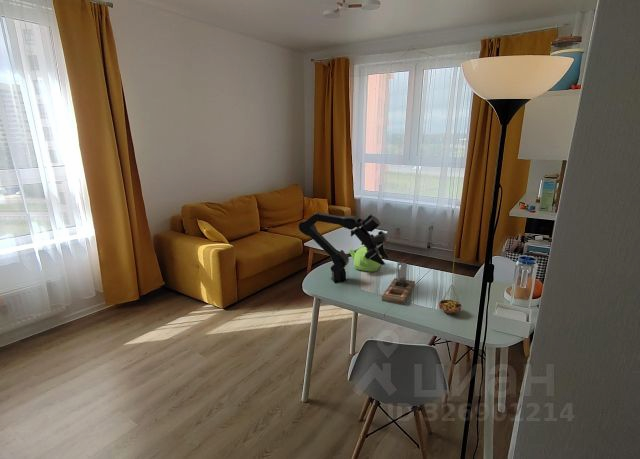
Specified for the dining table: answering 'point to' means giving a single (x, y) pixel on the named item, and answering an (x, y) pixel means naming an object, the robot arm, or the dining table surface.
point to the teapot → (363, 260)
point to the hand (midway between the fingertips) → (386, 261)
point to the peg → (402, 274)
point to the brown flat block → (398, 292)
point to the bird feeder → (450, 301)
